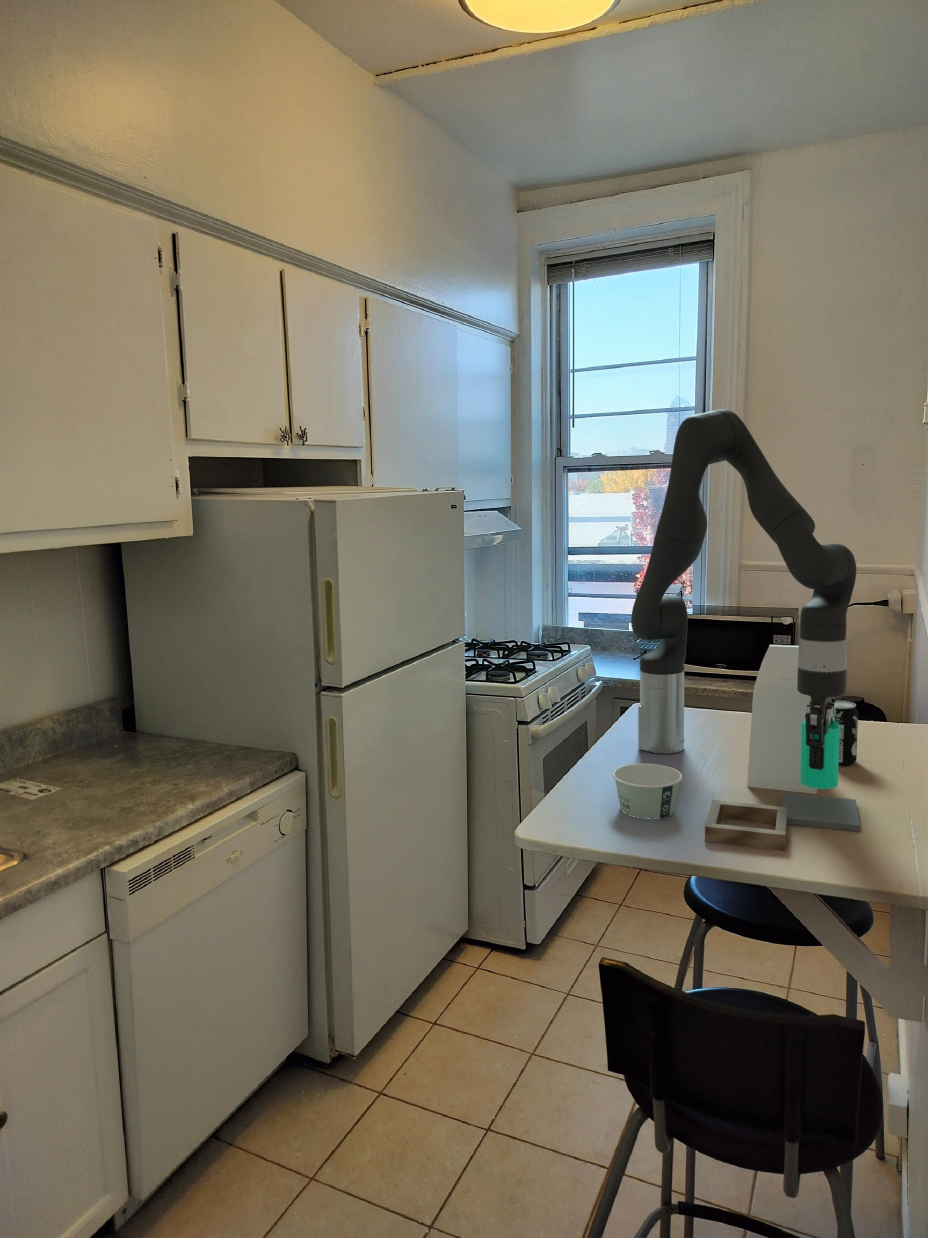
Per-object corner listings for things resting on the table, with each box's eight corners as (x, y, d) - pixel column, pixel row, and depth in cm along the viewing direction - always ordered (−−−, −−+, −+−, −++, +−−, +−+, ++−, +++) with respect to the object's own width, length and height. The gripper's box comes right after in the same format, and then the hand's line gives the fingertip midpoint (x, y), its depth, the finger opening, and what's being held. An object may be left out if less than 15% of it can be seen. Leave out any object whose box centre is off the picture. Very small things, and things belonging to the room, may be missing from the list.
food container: (599, 804, 152) (599, 769, 151) (654, 793, 156) (654, 759, 155) (638, 828, 141) (638, 790, 140) (696, 814, 146) (697, 778, 145)
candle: (806, 789, 140) (807, 719, 138) (795, 777, 146) (796, 709, 144) (843, 789, 140) (845, 718, 138) (831, 776, 145) (833, 709, 144)
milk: (819, 773, 163) (822, 641, 159) (816, 794, 153) (819, 653, 149) (753, 767, 168) (755, 639, 164) (747, 786, 158) (748, 650, 154)
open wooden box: (704, 841, 134) (704, 826, 134) (712, 813, 145) (712, 800, 145) (785, 850, 130) (785, 835, 130) (786, 821, 141) (787, 807, 141)
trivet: (780, 823, 140) (780, 817, 140) (782, 798, 151) (782, 792, 151) (859, 831, 136) (859, 825, 136) (855, 805, 147) (855, 799, 147)
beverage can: (849, 756, 172) (851, 699, 171) (861, 767, 166) (863, 707, 164) (816, 756, 173) (817, 699, 171) (826, 767, 167) (828, 708, 165)
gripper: (839, 675, 132) (836, 780, 134) (852, 658, 144) (849, 755, 146) (789, 671, 136) (787, 773, 138) (806, 655, 148) (804, 749, 150)
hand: (819, 763), depth 142 cm, fingers closed on candle, 5 cm apart
